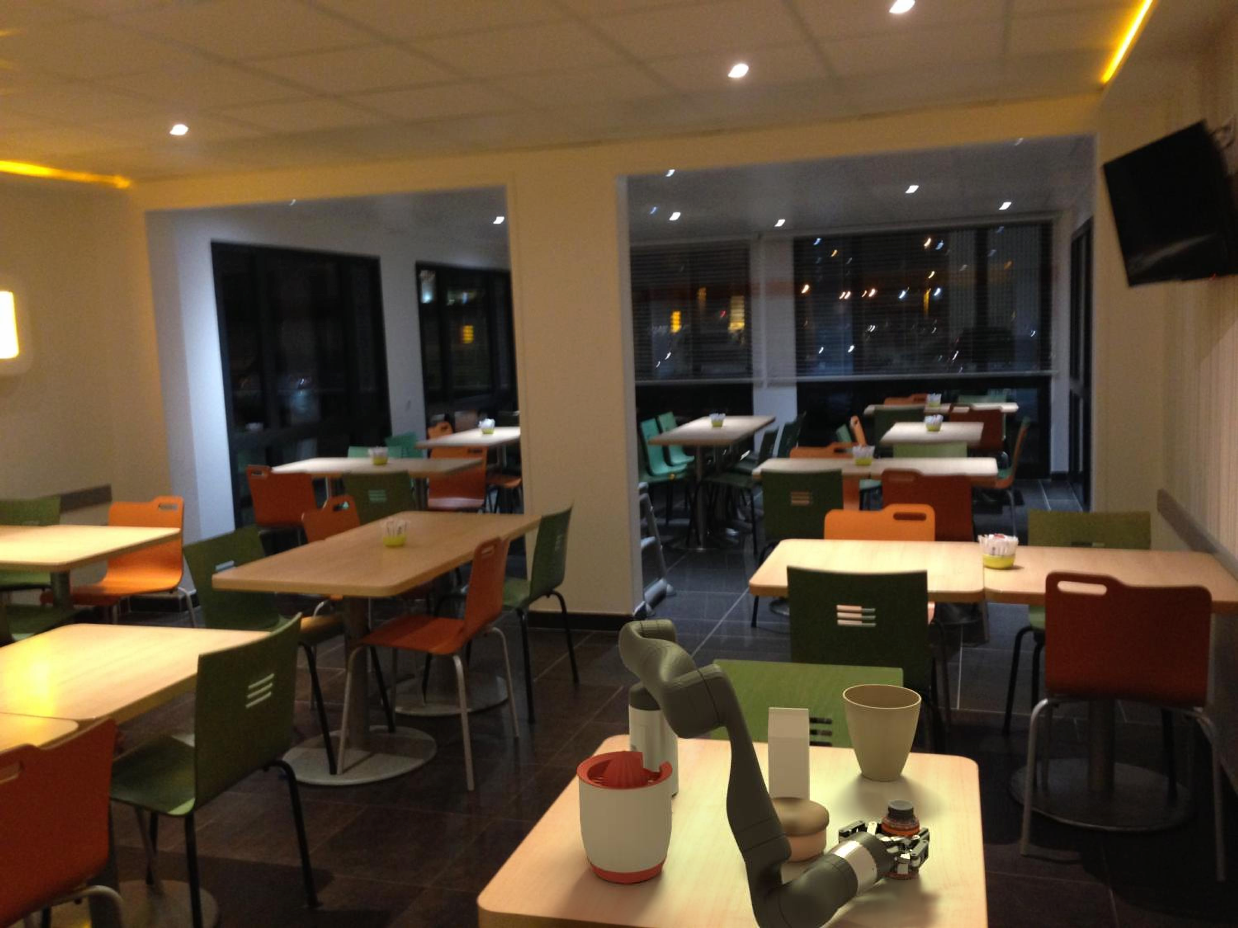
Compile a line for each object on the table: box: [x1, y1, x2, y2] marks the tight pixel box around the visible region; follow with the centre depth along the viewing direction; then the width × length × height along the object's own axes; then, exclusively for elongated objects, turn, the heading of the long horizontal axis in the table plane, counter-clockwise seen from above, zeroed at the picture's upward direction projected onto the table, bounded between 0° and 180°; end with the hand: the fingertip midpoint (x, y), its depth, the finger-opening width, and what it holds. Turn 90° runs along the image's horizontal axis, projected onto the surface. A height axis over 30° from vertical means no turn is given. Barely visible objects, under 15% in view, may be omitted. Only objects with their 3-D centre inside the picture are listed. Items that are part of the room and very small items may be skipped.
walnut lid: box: [771, 797, 830, 836], centre depth 180 cm, size 13×13×1 cm
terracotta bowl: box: [787, 827, 828, 862], centre depth 181 cm, size 12×12×6 cm
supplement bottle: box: [881, 799, 921, 880], centre depth 172 cm, size 6×6×11 cm
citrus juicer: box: [576, 749, 673, 885], centre depth 176 cm, size 16×17×20 cm
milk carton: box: [767, 707, 811, 800], centre depth 196 cm, size 7×7×19 cm
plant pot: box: [842, 683, 922, 782], centre depth 211 cm, size 15×15×16 cm
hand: (907, 827), depth 173 cm, fingers closed on supplement bottle, 6 cm apart
